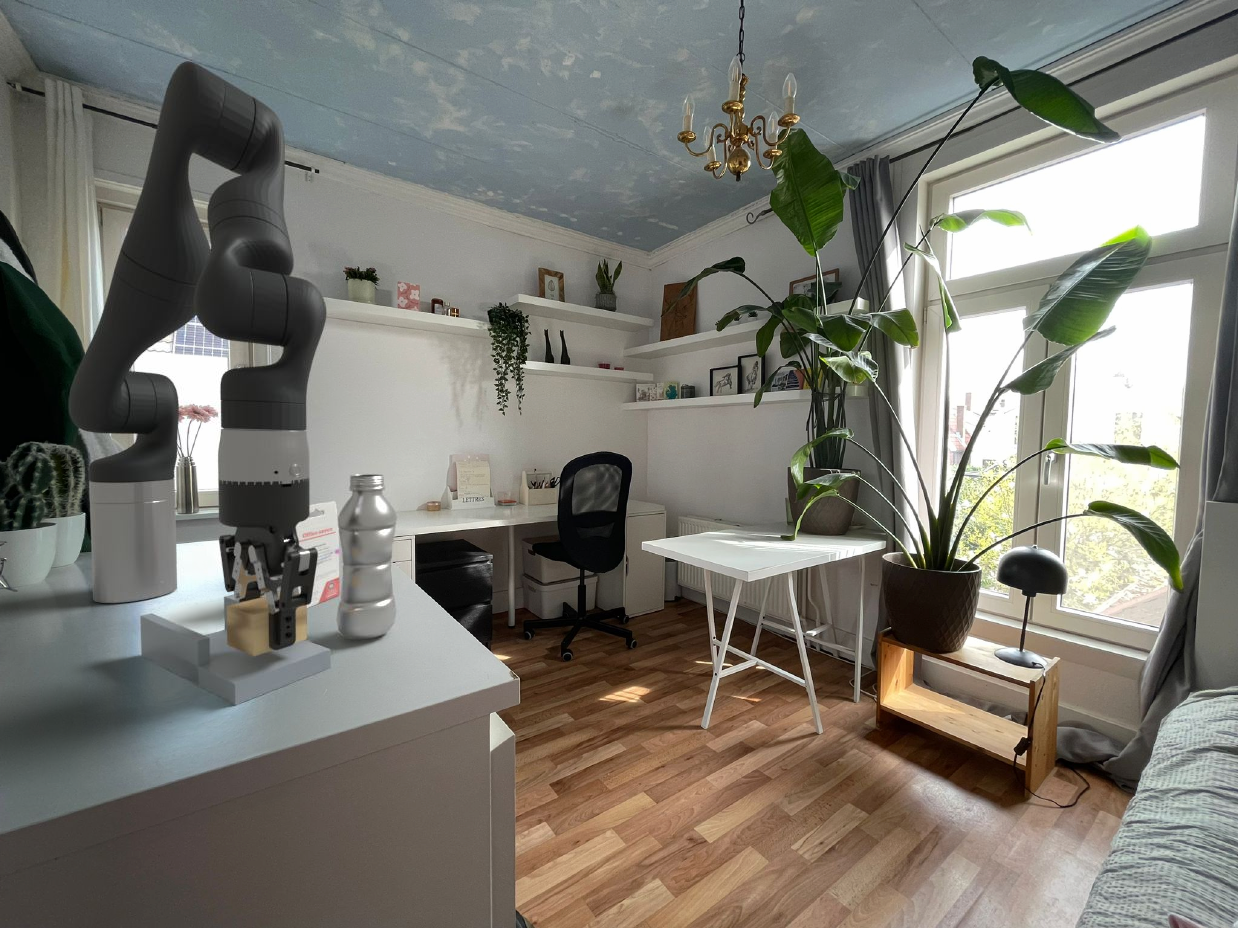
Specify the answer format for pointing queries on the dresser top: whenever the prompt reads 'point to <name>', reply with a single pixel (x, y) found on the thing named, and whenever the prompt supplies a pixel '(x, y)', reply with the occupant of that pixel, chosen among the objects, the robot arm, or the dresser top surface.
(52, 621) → the dresser top surface
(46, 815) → the dresser top surface
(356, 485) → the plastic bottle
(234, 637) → the oak block
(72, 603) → the dresser top surface
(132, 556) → the robot arm
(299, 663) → the grey angular piece
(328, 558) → the ink cartridge box
